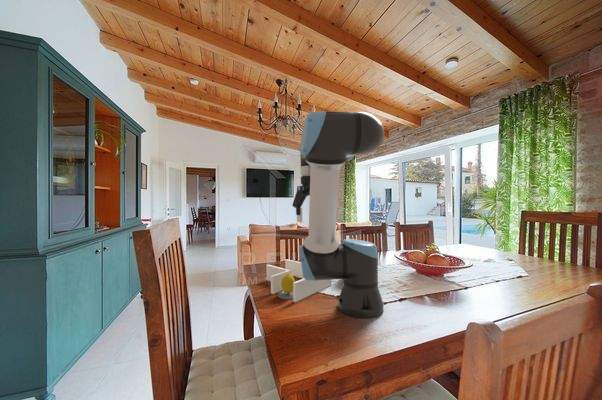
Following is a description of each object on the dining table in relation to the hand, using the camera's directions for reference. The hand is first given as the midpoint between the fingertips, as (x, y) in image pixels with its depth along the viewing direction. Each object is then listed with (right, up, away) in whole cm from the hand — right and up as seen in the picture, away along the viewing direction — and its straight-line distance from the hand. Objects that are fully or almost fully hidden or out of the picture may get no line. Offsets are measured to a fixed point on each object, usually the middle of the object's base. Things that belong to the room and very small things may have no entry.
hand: (309, 221), depth 121 cm
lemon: (-9, -27, -20) cm, 35 cm away
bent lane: (-8, -27, -10) cm, 30 cm away
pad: (-9, -27, -20) cm, 35 cm away
